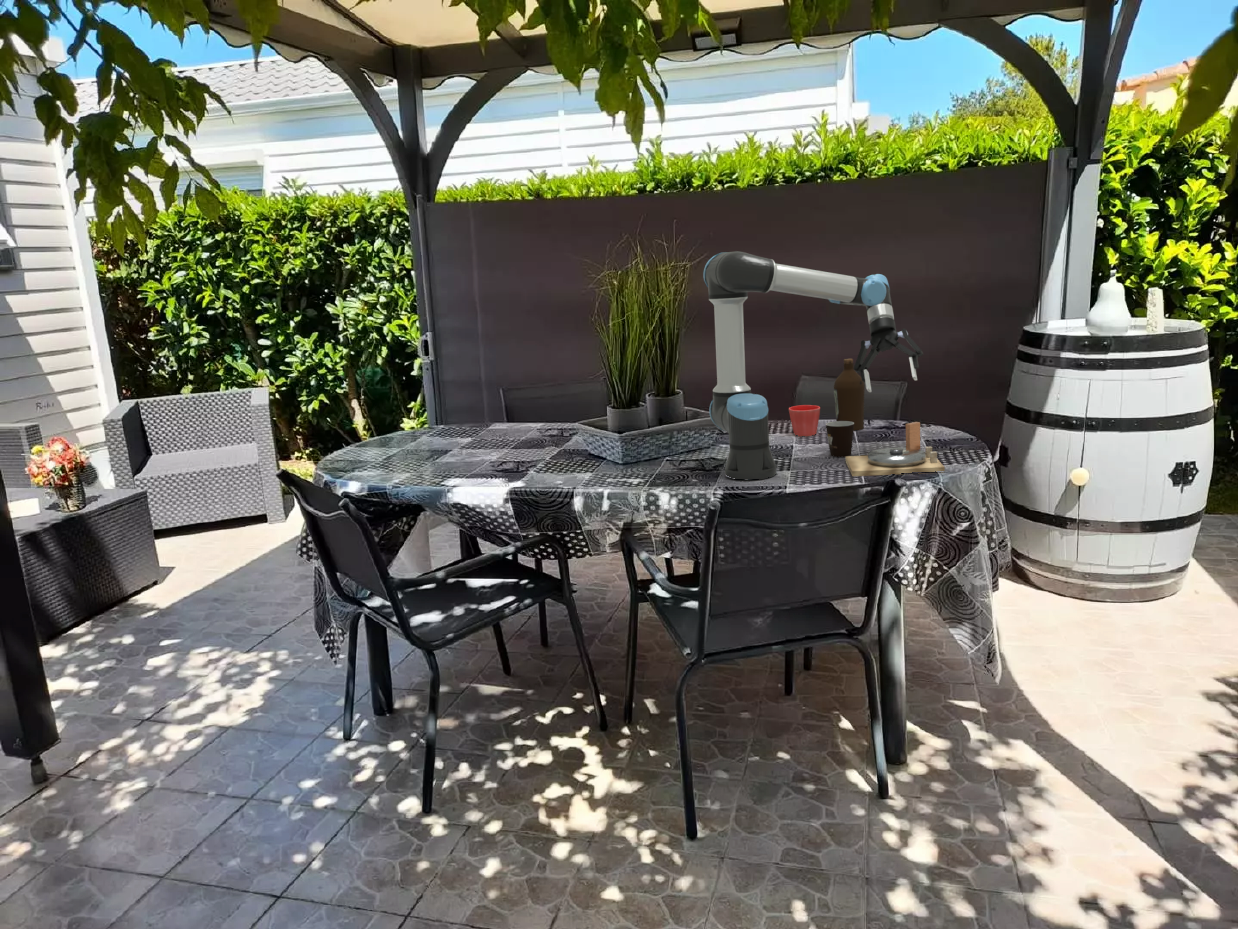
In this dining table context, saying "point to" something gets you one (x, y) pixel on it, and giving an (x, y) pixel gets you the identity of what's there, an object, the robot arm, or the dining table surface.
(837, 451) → the coffee mug
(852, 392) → the olive oil
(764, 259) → the robot arm
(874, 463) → the disc
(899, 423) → the dining table surface
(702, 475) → the dining table surface
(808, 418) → the flower pot
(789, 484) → the dining table surface
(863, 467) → the tan record player
